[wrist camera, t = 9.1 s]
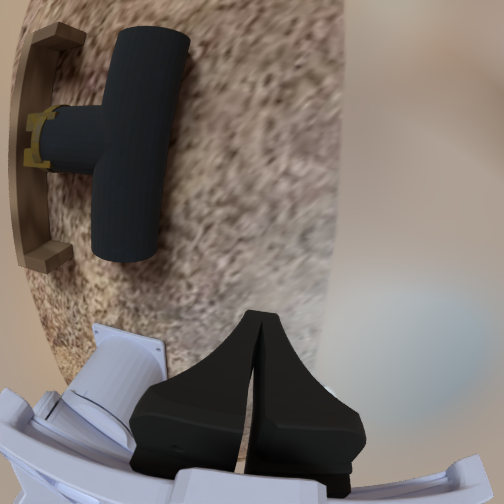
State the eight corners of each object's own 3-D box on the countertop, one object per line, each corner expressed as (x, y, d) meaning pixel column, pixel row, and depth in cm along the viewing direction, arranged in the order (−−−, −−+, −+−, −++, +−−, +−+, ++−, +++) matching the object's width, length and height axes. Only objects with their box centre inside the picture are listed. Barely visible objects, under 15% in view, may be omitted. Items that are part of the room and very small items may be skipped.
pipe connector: (20, 236, 17) (37, 44, 11) (57, 218, 22) (76, 55, 16) (139, 270, 17) (176, 23, 11) (167, 241, 22) (199, 49, 16)
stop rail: (73, 256, 23) (47, 274, 19) (44, 249, 23) (18, 265, 19) (86, 33, 15) (58, 21, 12) (53, 43, 15) (25, 35, 12)
